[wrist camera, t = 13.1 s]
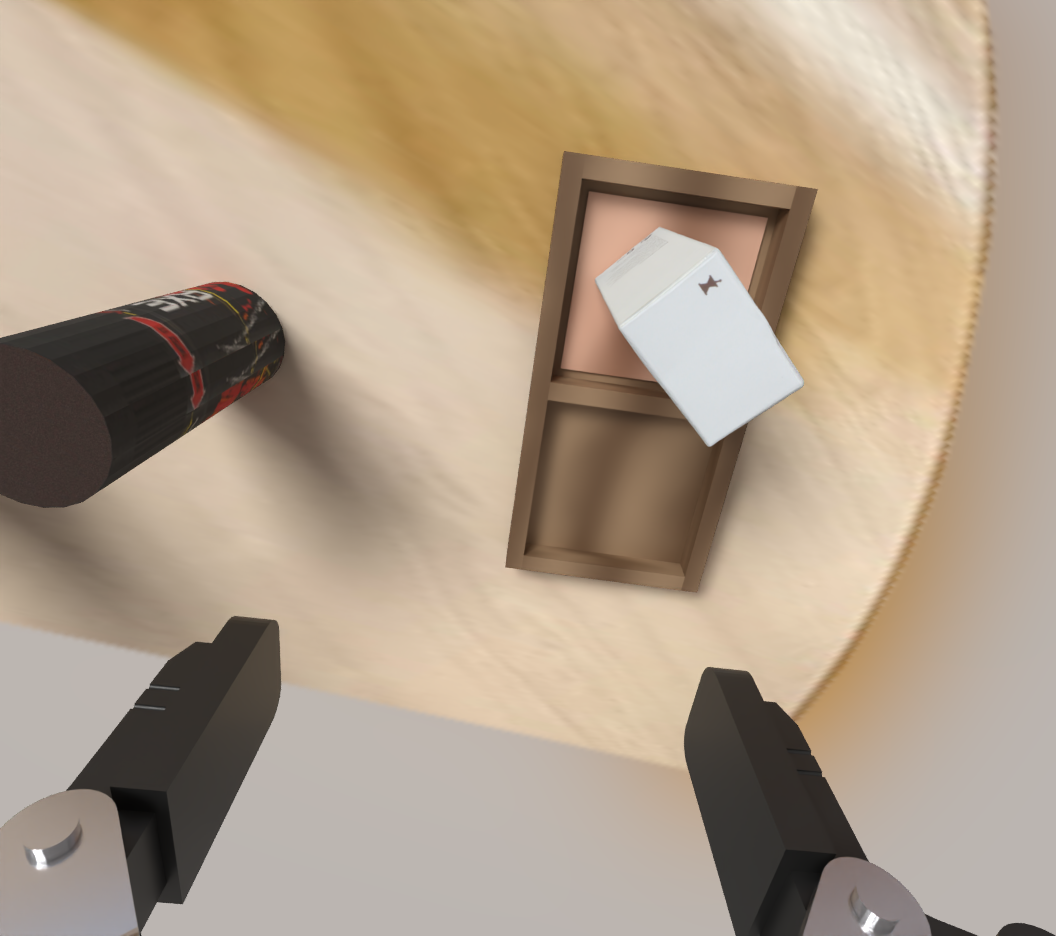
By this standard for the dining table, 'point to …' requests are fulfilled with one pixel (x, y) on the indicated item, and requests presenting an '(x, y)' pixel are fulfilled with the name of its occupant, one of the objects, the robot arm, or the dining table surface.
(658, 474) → the two-section desk tray
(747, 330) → the skincare box
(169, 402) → the deodorant
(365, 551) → the dining table surface
